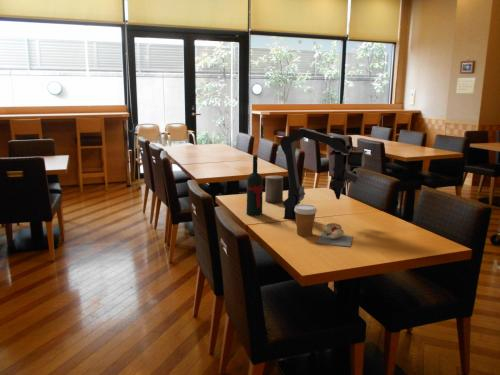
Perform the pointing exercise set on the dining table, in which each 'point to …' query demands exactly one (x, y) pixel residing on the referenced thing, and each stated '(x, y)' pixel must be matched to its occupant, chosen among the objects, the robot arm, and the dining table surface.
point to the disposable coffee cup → (305, 219)
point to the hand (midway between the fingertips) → (338, 199)
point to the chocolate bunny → (333, 230)
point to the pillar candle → (274, 189)
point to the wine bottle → (254, 191)
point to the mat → (335, 240)
